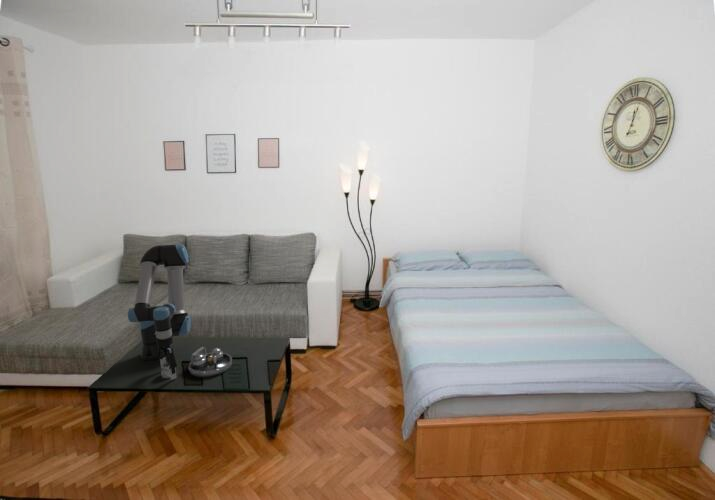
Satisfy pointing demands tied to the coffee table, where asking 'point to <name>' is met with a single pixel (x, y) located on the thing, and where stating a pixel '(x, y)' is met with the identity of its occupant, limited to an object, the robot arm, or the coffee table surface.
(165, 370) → the grey nut
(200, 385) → the coffee table surface
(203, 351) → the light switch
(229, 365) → the carrier
